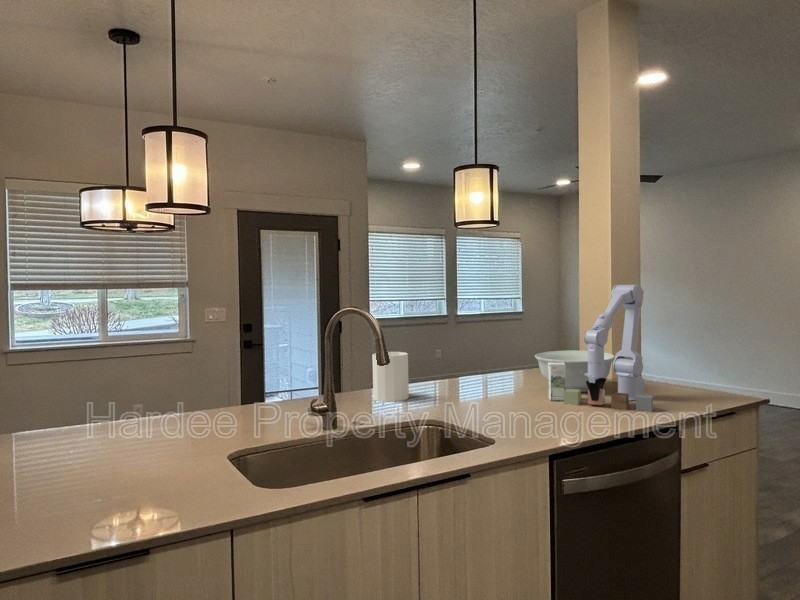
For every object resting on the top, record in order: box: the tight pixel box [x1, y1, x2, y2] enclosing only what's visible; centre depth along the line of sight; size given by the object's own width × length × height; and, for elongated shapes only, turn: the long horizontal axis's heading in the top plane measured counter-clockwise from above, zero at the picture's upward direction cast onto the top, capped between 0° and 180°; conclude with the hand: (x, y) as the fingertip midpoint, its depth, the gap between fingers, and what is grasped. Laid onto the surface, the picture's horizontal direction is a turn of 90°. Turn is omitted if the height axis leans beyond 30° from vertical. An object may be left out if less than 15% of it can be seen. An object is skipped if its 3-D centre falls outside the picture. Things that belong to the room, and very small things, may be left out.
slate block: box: [635, 394, 654, 413], centre depth 198 cm, size 5×5×5 cm
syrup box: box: [547, 362, 566, 402], centre depth 217 cm, size 6×6×14 cm
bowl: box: [534, 349, 615, 393], centre depth 238 cm, size 32×32×15 cm
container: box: [371, 351, 410, 403], centre depth 228 cm, size 14×14×18 cm
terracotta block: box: [587, 388, 606, 406], centre depth 206 cm, size 5×5×5 cm
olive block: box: [563, 389, 582, 406], centre depth 210 cm, size 5×5×5 cm
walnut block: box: [610, 392, 630, 411], centre depth 202 cm, size 5×5×5 cm
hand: (596, 399), depth 206 cm, fingers closed on terracotta block, 5 cm apart
